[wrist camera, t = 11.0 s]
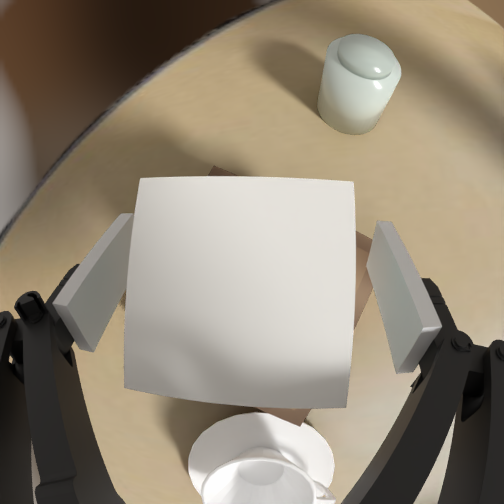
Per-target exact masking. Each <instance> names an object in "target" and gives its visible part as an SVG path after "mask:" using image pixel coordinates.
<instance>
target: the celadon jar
mask: <svg viewBox="0 0 504 504" xmlns="http://www.w3.org/2000/svg"><path fill="white" fill-rule="evenodd" d="M400 77H401V67H400V64H399V62H398V61H397V59H396V58H395V56H394V54H393V52H392V51H391V49H390V48H389V47H388V46H387V45H385V44H384V43H383V42H381V41H380V40H378V39H376V38H373V37H371V36H368V35H363V34H350V35H347V36H345V37H341V38H338V39H336V40H334V41H333V42H331V43H330V45H329V46H328V48H327V53H326V59H325V64H324V70H323V75H322V80H321V86H320V91H319V96H318V101H317V108H318V112H319V114H320V116H321V118H322V119H323V120H324V121H325V122H326V123H327V124H328V125H329V126H330V127H332V128H333V129H335V130H337V131H339V132H342V133H345V134H350V135H360V134H365V133H367V132H369V131H371V130H372V129H373V128H374V127H375V125H376V124H377V122H378V120H379V118H380V116H381V114H382V112H383V110H384V109H385V107H386V105H387V103H388V101H389V99H390V97H391V95H392V93H393V91H394V89H395V87H396V85H397V83H398V81H399V80H400Z"/></svg>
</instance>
